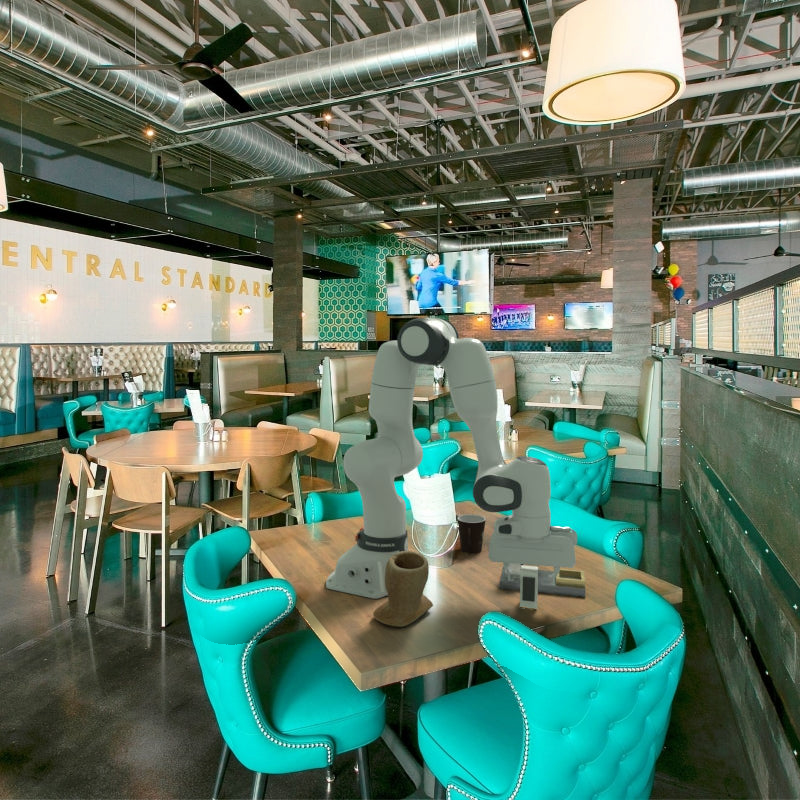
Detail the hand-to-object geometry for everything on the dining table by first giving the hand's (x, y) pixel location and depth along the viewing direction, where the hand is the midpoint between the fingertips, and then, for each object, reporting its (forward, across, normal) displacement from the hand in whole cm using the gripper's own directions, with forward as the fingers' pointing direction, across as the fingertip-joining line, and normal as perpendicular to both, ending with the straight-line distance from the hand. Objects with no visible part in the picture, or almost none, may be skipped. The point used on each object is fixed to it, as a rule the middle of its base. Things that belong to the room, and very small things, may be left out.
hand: (531, 581), depth 134 cm
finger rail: (+6, -2, -13) cm, 15 cm away
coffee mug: (+6, +20, -33) cm, 39 cm away
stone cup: (+6, +28, +13) cm, 31 cm away
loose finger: (+6, +1, 0) cm, 6 cm away
